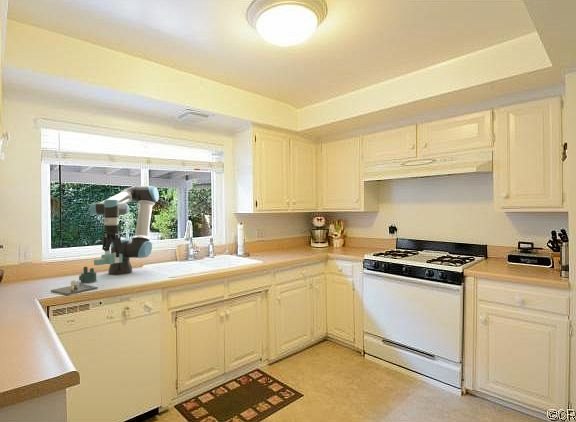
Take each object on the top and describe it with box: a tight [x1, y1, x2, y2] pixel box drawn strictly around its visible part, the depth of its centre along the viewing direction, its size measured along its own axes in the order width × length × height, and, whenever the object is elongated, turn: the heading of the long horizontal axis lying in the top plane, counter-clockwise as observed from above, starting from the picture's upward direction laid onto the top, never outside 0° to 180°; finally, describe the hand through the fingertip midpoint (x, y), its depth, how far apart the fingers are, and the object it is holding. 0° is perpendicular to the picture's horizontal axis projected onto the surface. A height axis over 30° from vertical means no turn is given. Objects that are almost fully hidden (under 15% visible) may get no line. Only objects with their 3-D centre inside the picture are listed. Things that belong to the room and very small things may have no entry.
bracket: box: [78, 266, 97, 284], centre depth 200 cm, size 9×9×9 cm
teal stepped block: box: [93, 253, 122, 266], centre depth 192 cm, size 14×8×5 cm, turn 152°
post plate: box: [50, 280, 98, 296], centre depth 179 cm, size 16×16×5 cm
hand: (112, 262), depth 195 cm, fingers closed on teal stepped block, 8 cm apart
